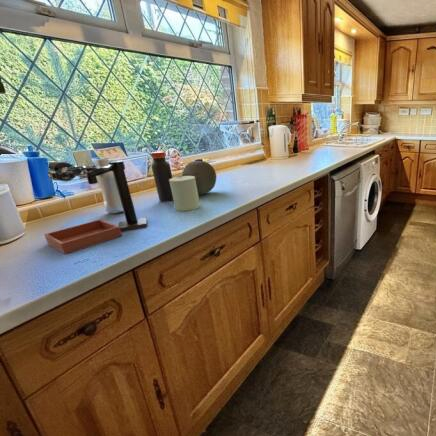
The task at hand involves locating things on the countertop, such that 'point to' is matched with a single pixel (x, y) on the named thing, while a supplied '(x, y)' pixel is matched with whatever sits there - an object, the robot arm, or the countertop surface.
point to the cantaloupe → (201, 175)
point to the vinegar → (162, 176)
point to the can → (184, 193)
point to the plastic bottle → (109, 189)
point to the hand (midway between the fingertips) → (85, 172)
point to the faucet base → (127, 204)
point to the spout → (104, 171)
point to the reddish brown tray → (82, 236)
